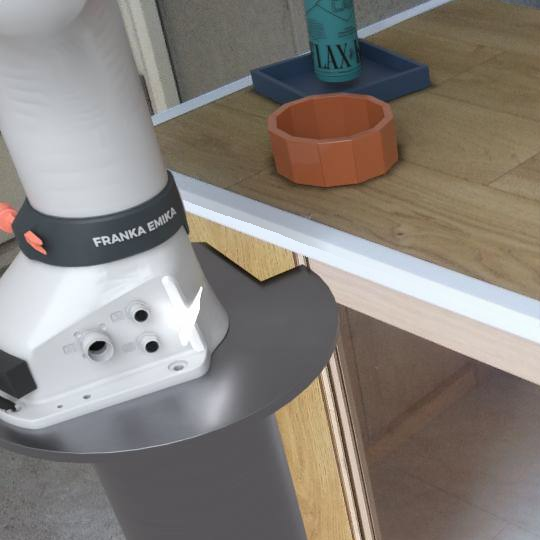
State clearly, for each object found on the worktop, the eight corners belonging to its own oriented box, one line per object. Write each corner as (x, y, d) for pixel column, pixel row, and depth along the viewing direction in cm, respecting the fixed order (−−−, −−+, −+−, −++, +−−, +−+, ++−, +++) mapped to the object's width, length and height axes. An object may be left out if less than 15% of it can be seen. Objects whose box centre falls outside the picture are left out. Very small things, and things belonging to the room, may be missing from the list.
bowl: (320, 198, 109) (312, 153, 105) (254, 159, 116) (244, 116, 112) (421, 159, 115) (416, 116, 112) (352, 125, 123) (346, 83, 119)
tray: (319, 124, 123) (315, 103, 121) (254, 90, 131) (249, 70, 129) (430, 86, 131) (428, 66, 129) (362, 57, 140) (360, 37, 138)
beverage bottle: (306, 91, 129) (275, -86, 115) (333, 73, 134) (306, -99, 119) (349, 97, 127) (322, -81, 113) (375, 79, 132) (352, -95, 118)
